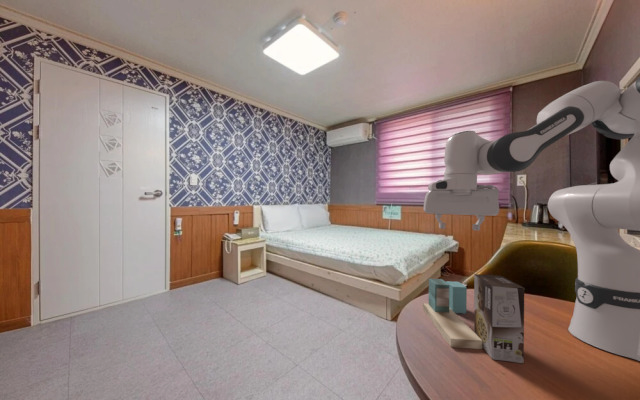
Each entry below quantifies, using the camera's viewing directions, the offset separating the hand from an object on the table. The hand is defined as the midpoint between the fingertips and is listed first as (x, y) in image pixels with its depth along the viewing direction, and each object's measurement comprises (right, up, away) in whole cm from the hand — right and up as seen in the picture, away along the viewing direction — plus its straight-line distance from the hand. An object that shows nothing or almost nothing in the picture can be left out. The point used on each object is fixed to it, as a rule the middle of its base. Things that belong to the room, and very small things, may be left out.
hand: (458, 229), depth 73 cm
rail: (-8, -26, -8) cm, 28 cm away
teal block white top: (0, -26, +2) cm, 26 cm away
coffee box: (-2, -26, -18) cm, 32 cm away
